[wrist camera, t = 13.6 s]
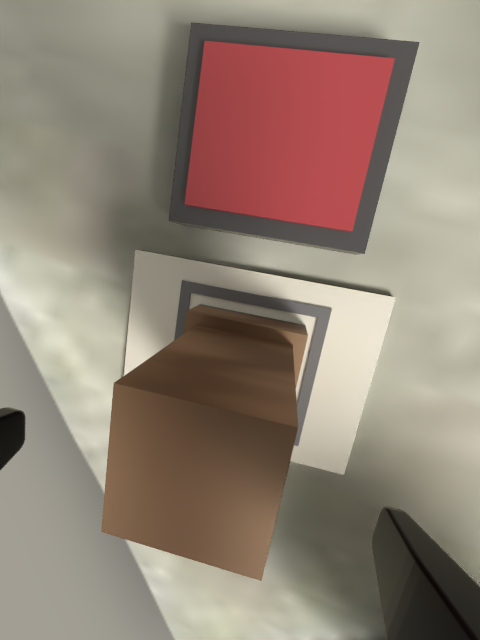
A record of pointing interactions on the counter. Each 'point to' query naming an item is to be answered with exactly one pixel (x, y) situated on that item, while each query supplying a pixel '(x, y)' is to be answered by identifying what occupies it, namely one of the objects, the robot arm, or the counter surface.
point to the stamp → (206, 440)
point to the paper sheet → (283, 304)
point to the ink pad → (287, 133)
